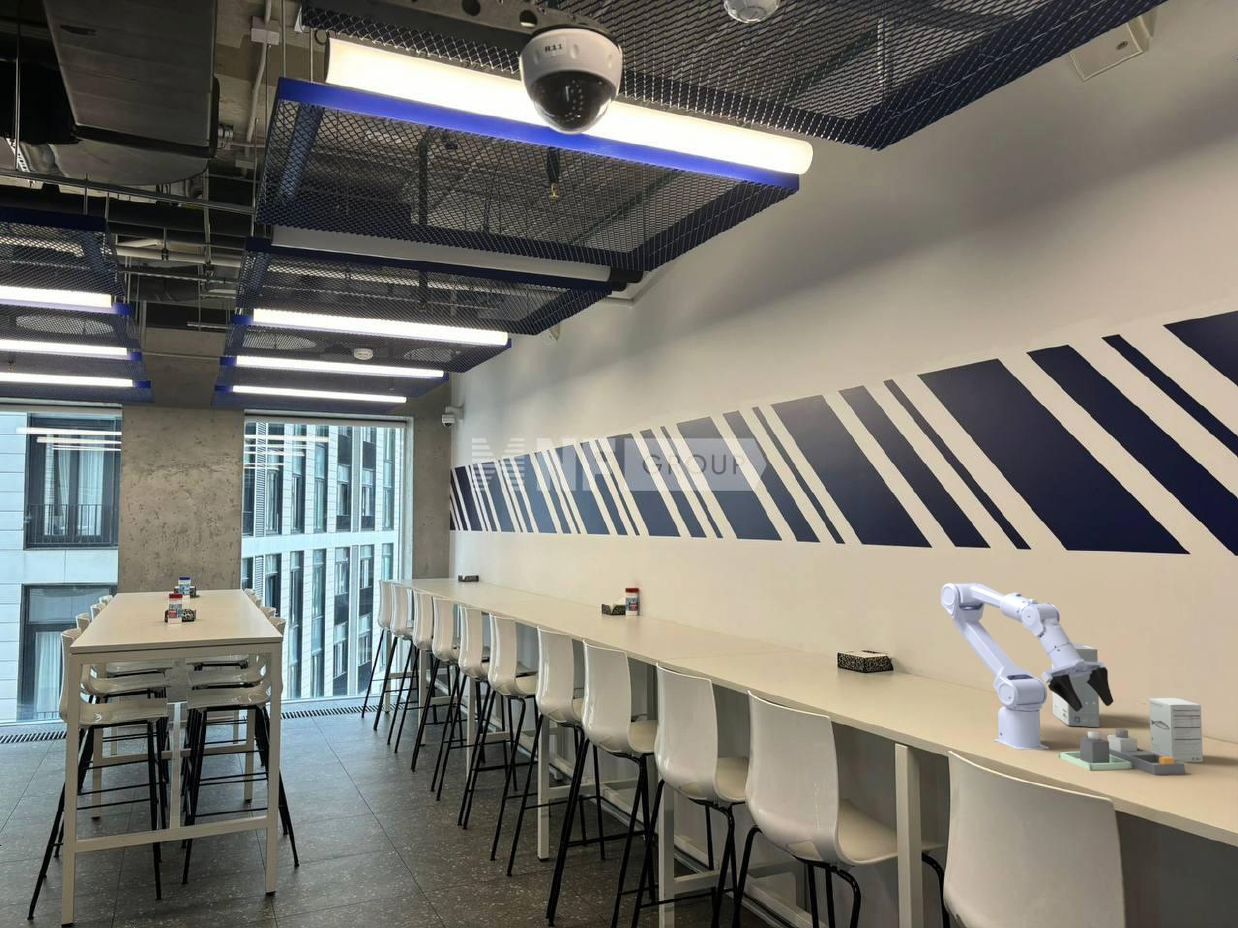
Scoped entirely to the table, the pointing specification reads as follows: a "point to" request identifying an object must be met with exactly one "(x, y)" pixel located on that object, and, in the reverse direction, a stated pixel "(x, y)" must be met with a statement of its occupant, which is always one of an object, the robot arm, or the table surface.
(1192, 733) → the supplement box
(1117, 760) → the tray
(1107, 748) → the plug
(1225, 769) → the table surface
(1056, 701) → the hard drive box
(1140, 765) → the power strip
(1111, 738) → the twin plug
